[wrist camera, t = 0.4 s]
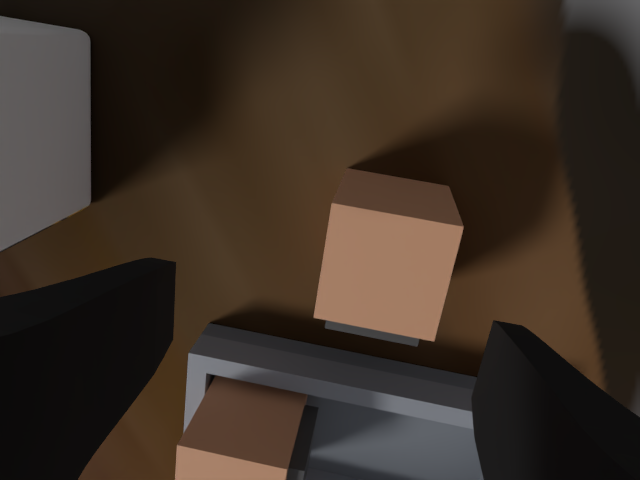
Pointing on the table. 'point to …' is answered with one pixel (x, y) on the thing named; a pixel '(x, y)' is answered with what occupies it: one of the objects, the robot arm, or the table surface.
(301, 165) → the table surface
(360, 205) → the tan matte cube
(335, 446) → the grey rimmed tray
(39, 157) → the medicine bottle
